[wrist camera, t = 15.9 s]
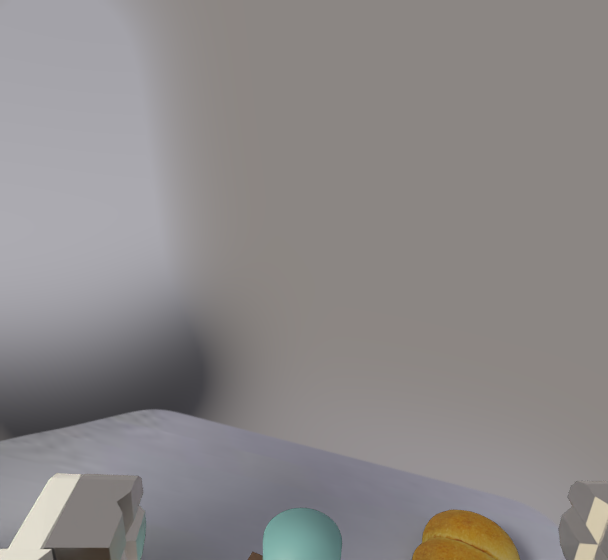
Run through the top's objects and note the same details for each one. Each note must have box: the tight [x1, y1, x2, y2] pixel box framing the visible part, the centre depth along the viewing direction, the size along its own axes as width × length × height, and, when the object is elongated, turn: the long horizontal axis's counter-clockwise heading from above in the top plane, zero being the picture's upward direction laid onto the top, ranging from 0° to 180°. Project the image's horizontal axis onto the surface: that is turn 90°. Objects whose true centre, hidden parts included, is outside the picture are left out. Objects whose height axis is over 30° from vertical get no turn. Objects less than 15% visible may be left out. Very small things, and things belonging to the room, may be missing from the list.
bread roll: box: [412, 510, 520, 560], centre depth 42 cm, size 8×9×4 cm
